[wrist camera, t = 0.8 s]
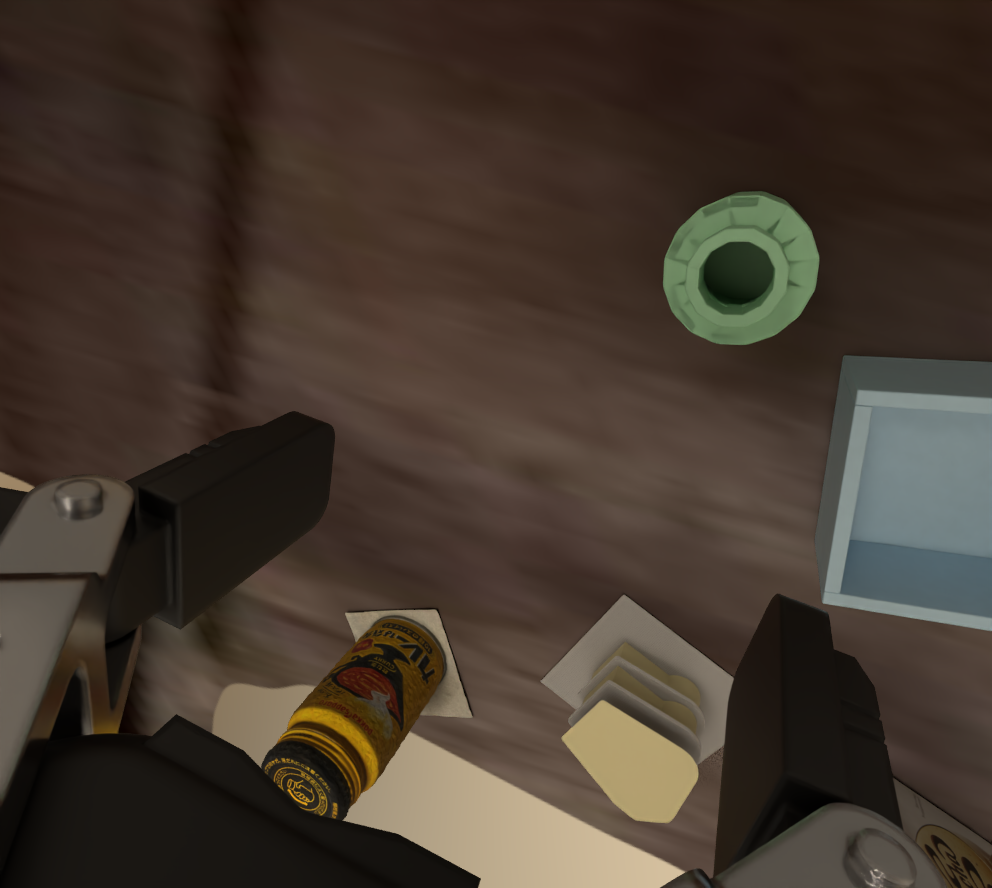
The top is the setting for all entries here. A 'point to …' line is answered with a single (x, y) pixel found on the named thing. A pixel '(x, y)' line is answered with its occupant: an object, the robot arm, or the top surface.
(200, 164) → the top surface
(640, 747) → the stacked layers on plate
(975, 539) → the case
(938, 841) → the coffee box
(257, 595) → the top surface
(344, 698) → the condiment
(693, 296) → the bottle
